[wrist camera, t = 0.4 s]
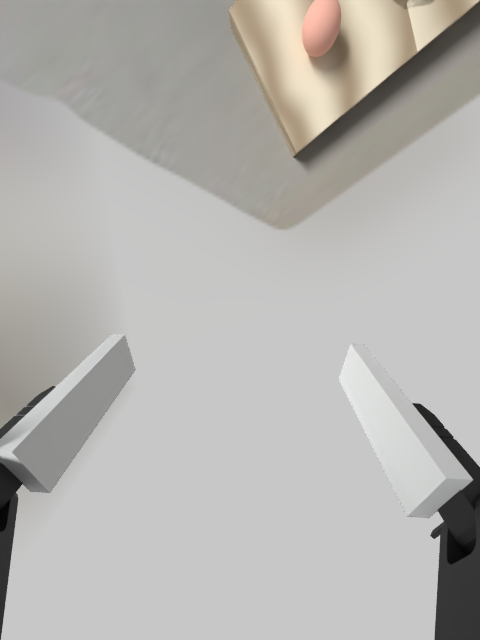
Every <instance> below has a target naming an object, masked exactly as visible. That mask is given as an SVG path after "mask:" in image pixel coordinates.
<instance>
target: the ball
mask: <svg viewBox="0 0 480 640" xmlns="http://www.w3.org/2000/svg"><path fill="white" fill-rule="evenodd" d="M340 25H341V8H340V4H339V2H338V0H315V1H314V2H313V3H312V4H311V6H310V7H309V9H308V11H307V13H306V16H305V19H304V23H303V28H302V41H303V45H304V48H305V50H306V52H307V53H308V54H309V55H310V56H313V57H319V56H322V55H323V54H325V53H326V52H327V51H328V50H329V49H330V48H331V47H332V45H333V44H334V42H335V40H336V38H337V35H338V33H339V29H340Z"/></svg>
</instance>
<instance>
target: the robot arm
mask: <svg viewBox="0 0 480 640" xmlns="http://www.w3.org/2000/svg"><path fill="white" fill-rule="evenodd" d="M134 371H135V367H134V363H133V360H132V357H131V353H130V350H129V347H128V343H127V340H126V337H125V335H123V334H122V335H121V334H112V335H111V336H110V337H108V339H107V340H105V341H104V342H103V343H102V344H101V345H100V346H99V347H98V348H97V349H96V350H95V351H94V352H92V353H91V354H90V356H88V357H87V358H86V359H85V360H84V361H83V362H82V363H81V364H80V365H79V366H78V367H76V368H75V369H74V370H73V371H72V372H71V373H70V374H69V375H68V376H67V377H66V378H65V379H64V380H63V381H62V382H61V383H59V384H58V385H57V386H56V387H55V386H52V387H50V388H49V389H47V390H46V391H44V392H42V393H41V394H39V395H38V396H37V397H35V398H34V399H33V400H32V401H31V402H30V403H29V404H28V405H27V407H24V408H23V409H22V410H21V411H20V412H19V413H18V414H17V416H14V417H13V418H12V419H11V420H10V421H9V422H8V423H6V424H5V425H4V426H3V427H2V428H1V429H0V640H1V633H2V625H3V617H4V609H5V600H6V593H7V585H8V576H9V569H10V560H11V552H12V544H13V537H14V528H15V520H16V513H17V505H18V495H17V494H16V491H17V490H18V489H19V488H20V486H21V485H22V484H23V485H24V486H25V487H26V488H27V489H28V490H29V491H30V492H45V493H50V492H51V491H52V489H53V488H54V486H55V485H56V484H57V482H58V481H59V479H60V478H61V476H62V475H63V473H64V472H65V470H66V469H67V468H68V466H69V465H70V463H71V462H72V460H73V459H74V458H75V456H76V455H77V453H78V452H79V450H80V449H81V448H82V446H83V444H84V443H85V442H86V440H87V439H88V437H89V436H90V435H91V433H92V432H93V430H94V429H95V427H96V426H97V425H98V423H99V421H100V420H101V419H102V417H103V416H104V414H105V413H106V412H107V410H108V409H109V407H110V406H111V404H112V403H113V402H114V400H115V399H116V397H117V396H118V394H119V393H120V391H121V390H122V389H123V387H124V386H125V384H126V383H127V381H128V380H129V378H130V377H131V376H132V374H133V373H134ZM339 381H340V383H341V385H342V387H343V389H344V391H345V393H346V395H347V397H348V399H349V401H350V403H351V405H352V407H353V409H354V411H355V413H356V415H357V417H358V419H359V421H360V423H361V425H362V427H363V429H364V431H365V433H366V435H367V437H368V439H369V441H370V443H371V445H372V447H373V449H374V451H375V453H376V455H377V457H378V459H379V461H380V463H381V465H382V467H383V469H384V471H385V473H386V475H387V477H388V479H389V481H390V483H391V485H392V487H393V489H394V491H395V493H396V495H397V497H398V499H399V501H400V503H401V505H402V507H403V509H404V511H405V513H406V515H407V517H422V518H430V517H431V516H432V515H433V514H435V512H437V511H438V512H439V513H440V515H441V517H442V518H443V520H444V522H443V523H442V524H440V525H439V526H438V527H436V528H435V529H434V530H433V531H432V533H431V537H432V538H434V539H435V538H436V537H438V536H439V535H440V534H441V535H440V553H439V554H440V555H439V571H438V590H437V606H436V623H435V640H480V467H479V466H478V465H477V464H476V462H475V461H474V460H473V459H472V458H471V457H470V456H469V454H467V452H466V451H465V450H464V449H463V448H462V446H461V445H460V444H459V443H458V442H457V441H456V440H454V439H453V436H452V435H451V434H450V433H449V431H448V430H447V429H445V428H444V426H443V424H442V423H441V422H440V421H439V420H438V419H437V417H436V416H435V415H434V414H433V413H431V412H430V411H429V410H427V409H426V408H425V407H424V406H422V405H421V404H415V403H411V402H410V400H409V399H408V398H407V397H406V396H405V394H404V393H403V392H402V390H401V389H400V388H399V387H398V385H397V384H396V383H395V382H394V381H393V379H392V378H391V377H390V376H389V374H388V373H387V372H386V371H385V369H384V368H383V367H382V366H381V364H380V363H379V362H378V361H377V360H376V358H375V357H374V356H373V354H372V353H371V352H370V351H369V349H368V348H367V347H366V346H365V345H364V344H350V347H349V350H348V353H347V356H346V359H345V362H344V365H343V368H342V371H341V374H340V376H339Z"/></svg>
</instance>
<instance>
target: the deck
mask: <svg viewBox="0 0 480 640" xmlns="http://www.w3.org/2000/svg"><path fill="white" fill-rule="evenodd" d="M314 1H315V0H237V1H236V2H235V3H234V5H233V6H232V7H231V8H230V9H229V13H230V23H231V29H232V31H233V34H234V36H235V38H236V40H237V42H238V44H239V46H240V48H241V50H242V52H243V54H244V56H245V58H246V60H247V63H248V65H249V67H250V69H251V71H252V73H253V75H254V77H255V79H256V81H257V83H258V85H259V87H260V89H261V92H262V94H263V96H264V98H265V100H266V102H267V104H268V106H269V108H270V110H271V112H272V114H273V116H274V118H275V121H276V123H277V125H278V127H279V129H280V131H281V133H282V135H283V137H284V139H285V141H286V143H287V145H288V147H289V150H290V152H291V154H292V156H293V157H294V156H295V155H296V154H297V153H298V152H300V151H301V150H302V149H303V148H304V147H306V146H307V145H308V144H309V143H310V142H312V141H313V140H314V139H315V138H316V137H318V136H319V135H320V134H321V133H322V132H324V131H325V130H326V129H327V128H328V127H330V126H331V125H332V124H333V123H334V122H336V121H337V120H338V119H339V118H341V117H342V116H343V115H344V114H345V113H347V112H348V111H349V110H350V109H351V108H353V107H354V106H355V105H356V104H357V103H359V102H360V101H361V100H362V99H363V98H365V97H366V96H367V95H368V94H369V93H371V92H372V91H373V90H374V89H375V88H377V87H378V86H379V85H380V84H381V83H383V82H384V81H385V80H386V79H387V78H389V77H390V76H391V75H392V74H393V73H395V72H396V71H397V70H398V69H399V68H401V67H402V66H403V65H404V64H405V63H407V62H408V61H409V60H410V59H411V58H413V57H414V56H415V55H416V54H418V53H419V52H420V51H421V50H422V49H424V48H425V47H426V46H427V45H428V44H430V43H431V42H432V41H433V40H434V39H436V38H437V37H438V36H439V35H440V34H442V33H443V32H444V31H445V30H446V29H448V28H449V27H450V26H451V25H452V24H454V23H455V22H456V21H457V20H458V19H460V18H461V17H462V16H463V15H464V14H466V13H467V12H468V11H469V10H470V9H472V8H473V7H474V6H475V5H476V4H478V3H479V2H480V0H338V2H339V4H340V8H341V25H340V29H339V33H338V35H337V38H336V40H335V42H334V44H333V45H332V47H331V48H330V49H329V50H328V51H327V52H326V53H325V54H323V55H322V56H319V57H313V56H310V55H309V54H308V53H307V52H306V50H305V48H304V45H303V41H302V28H303V23H304V19H305V16H306V13H307V11H308V9H309V7H310V6H311V4H312V3H313V2H314Z"/></svg>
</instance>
